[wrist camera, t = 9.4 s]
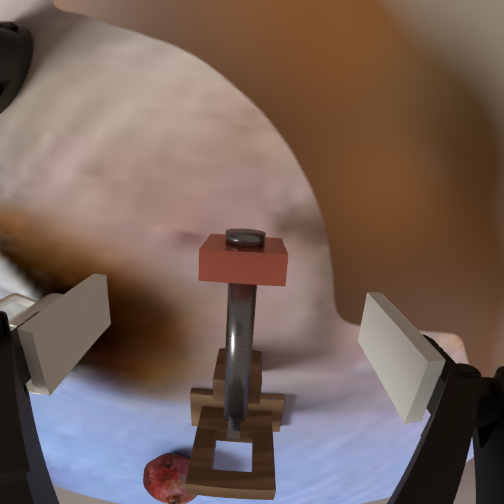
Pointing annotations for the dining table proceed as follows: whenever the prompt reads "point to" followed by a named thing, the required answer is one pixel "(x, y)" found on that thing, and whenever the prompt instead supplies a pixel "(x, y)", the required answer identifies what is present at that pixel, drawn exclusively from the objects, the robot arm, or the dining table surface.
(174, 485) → the fruit
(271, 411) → the wooden square frame
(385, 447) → the dining table surface
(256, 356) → the saddle block
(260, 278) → the hook rod
